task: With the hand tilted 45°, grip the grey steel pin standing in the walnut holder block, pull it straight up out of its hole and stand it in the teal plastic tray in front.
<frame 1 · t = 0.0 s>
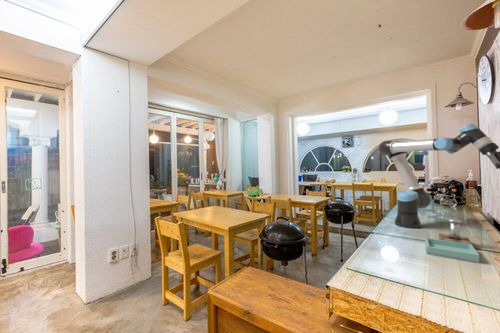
holder: (454, 243, 123), on the counter
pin: (454, 231, 123), in the holder
tray: (449, 252, 111), on the counter
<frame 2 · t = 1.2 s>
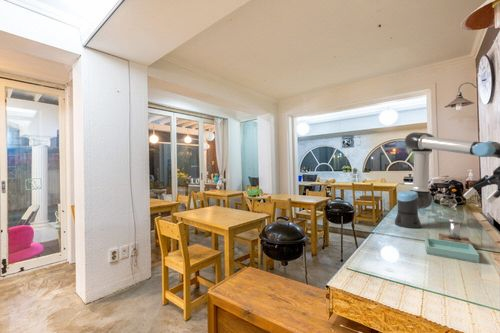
hand: (476, 199, 122), 24 cm above the counter, tool tilted 45°, fingers open, 13 cm apart
nothing on the counter moved.
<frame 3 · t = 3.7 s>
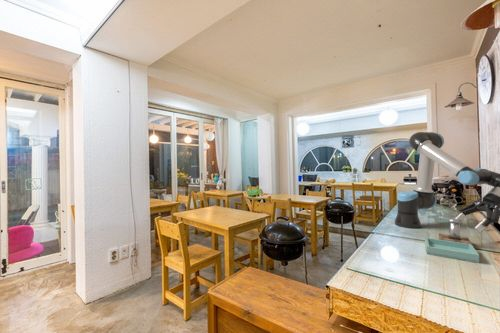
hand: (465, 226, 121), 10 cm above the counter, tool tilted 45°, fingers open, 13 cm apart
nothing on the counter moved.
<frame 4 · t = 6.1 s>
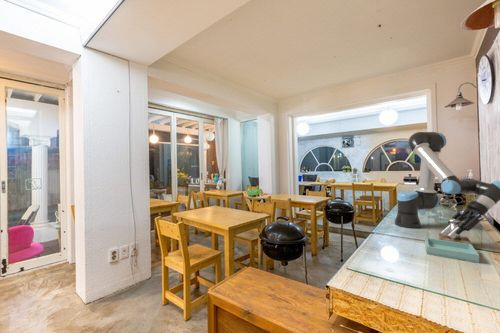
hand: (447, 235, 123), 4 cm above the counter, tool tilted 45°, fingers closed on holder, 4 cm apart
nothing on the counter moved.
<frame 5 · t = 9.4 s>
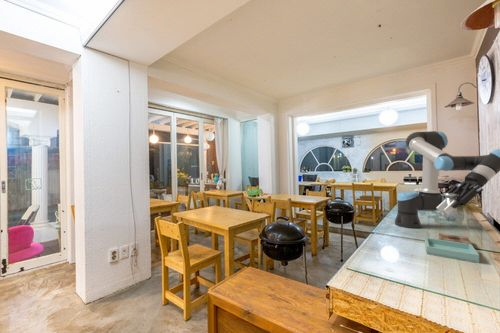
hand: (442, 210, 111), 20 cm above the counter, tool tilted 45°, fingers closed on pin, 4 cm apart
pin: (450, 207, 111), point 22 cm above the counter, touching gripper
when the fingers open (7 cm above the counter, at t = 12.3 s): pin stays where it is, resting on tray.
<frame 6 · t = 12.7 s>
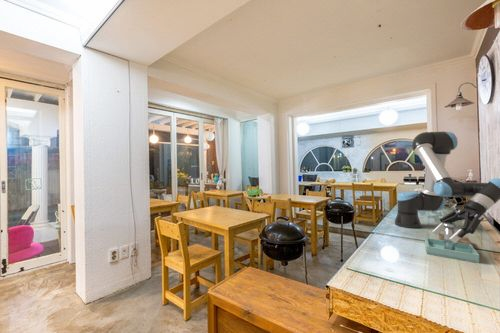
hand: (443, 237, 111), 8 cm above the counter, tool tilted 45°, fingers open, 10 cm apart
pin: (449, 237, 111), in the tray, point 8 cm above the counter
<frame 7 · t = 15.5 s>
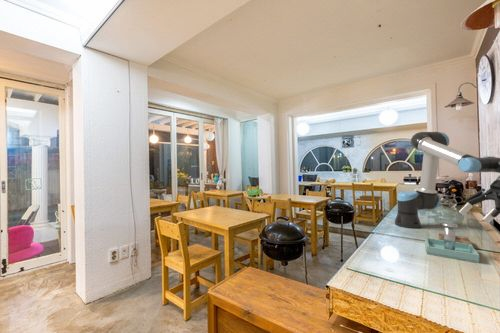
hand: (472, 217, 112), 17 cm above the counter, tool tilted 40°, fingers open, 13 cm apart
nothing on the counter moved.
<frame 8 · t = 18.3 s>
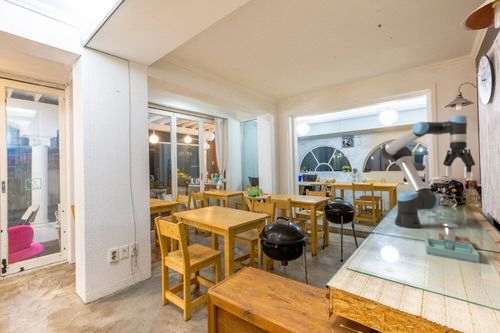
hand: (457, 177, 138), 35 cm above the counter, tool pointing down, fingers open, 13 cm apart
nothing on the counter moved.
at the end: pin inside the target area on the tray (0.1 cm from its centre), point 7.5 cm above the tray's base; the gripper is holding nothing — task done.
